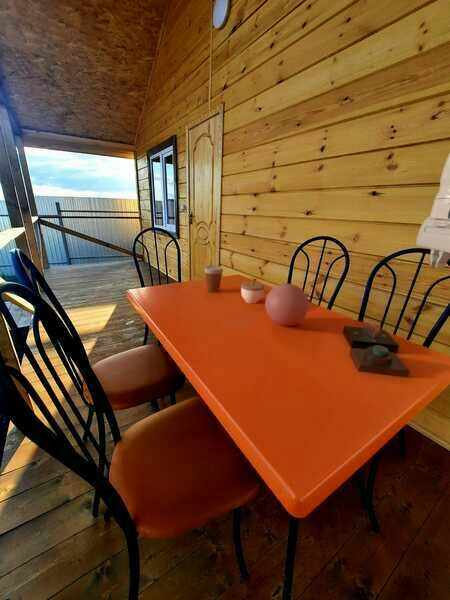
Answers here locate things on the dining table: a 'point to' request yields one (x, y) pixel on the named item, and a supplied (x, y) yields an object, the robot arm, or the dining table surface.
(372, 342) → the panel
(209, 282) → the disposable coffee cup
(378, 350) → the button
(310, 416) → the dining table surface
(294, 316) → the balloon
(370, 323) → the knob
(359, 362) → the button block
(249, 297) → the trinket box
